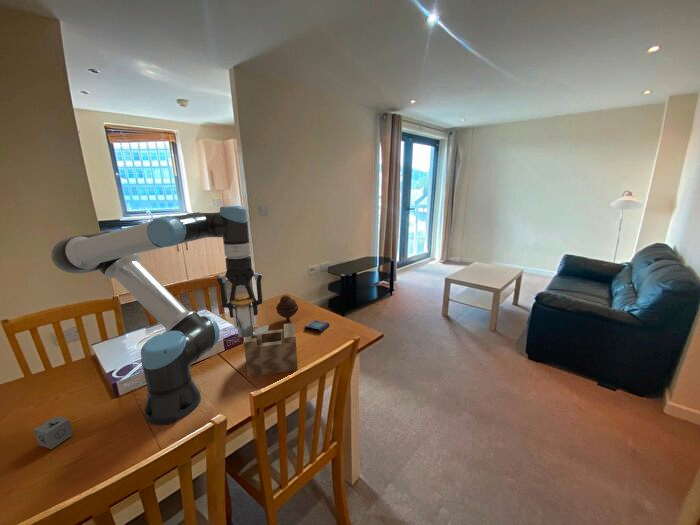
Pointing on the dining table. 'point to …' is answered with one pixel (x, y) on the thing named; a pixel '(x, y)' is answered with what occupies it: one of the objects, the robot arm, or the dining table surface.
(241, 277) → the robot arm
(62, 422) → the grey toy block
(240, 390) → the dining table surface
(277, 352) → the hitch block
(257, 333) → the clip tab
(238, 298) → the pin
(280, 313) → the ice cream bowl
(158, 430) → the dining table surface
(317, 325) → the blue flat box
